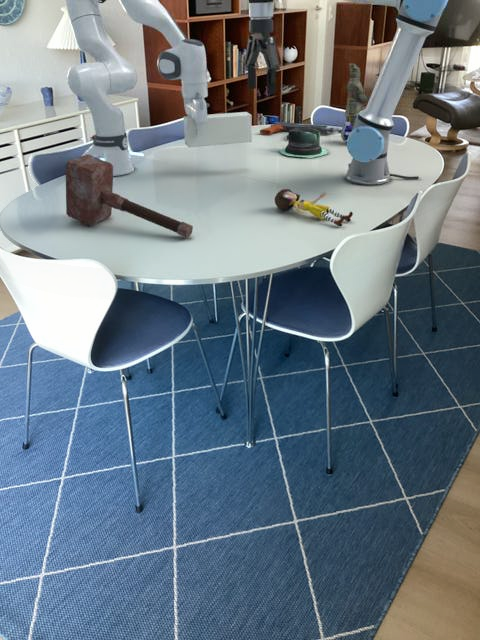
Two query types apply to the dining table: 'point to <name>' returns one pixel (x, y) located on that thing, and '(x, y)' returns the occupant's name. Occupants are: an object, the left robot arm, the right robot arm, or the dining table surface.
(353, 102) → the statue
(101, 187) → the sledgehammer
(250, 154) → the dining table surface
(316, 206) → the figurine
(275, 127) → the submachine gun
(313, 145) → the green hat
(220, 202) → the dining table surface
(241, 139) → the box
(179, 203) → the dining table surface
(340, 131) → the toy
